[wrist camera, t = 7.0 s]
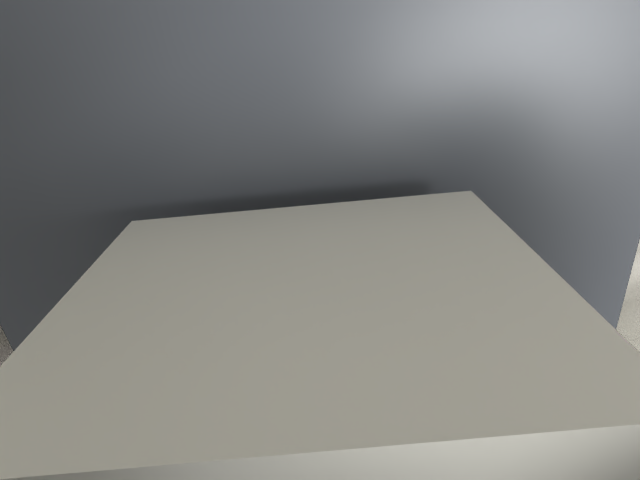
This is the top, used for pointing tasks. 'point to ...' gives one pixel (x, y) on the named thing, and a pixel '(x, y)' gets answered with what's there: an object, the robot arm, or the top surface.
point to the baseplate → (314, 123)
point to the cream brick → (322, 355)
